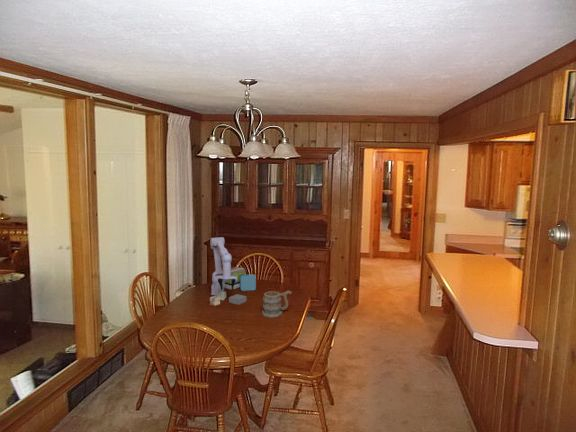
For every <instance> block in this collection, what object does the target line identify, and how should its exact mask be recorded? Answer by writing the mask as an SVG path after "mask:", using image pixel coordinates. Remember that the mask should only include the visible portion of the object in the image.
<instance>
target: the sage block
mask: <svg viewBox="0 0 576 432" xmlns="http://www.w3.org/2000/svg"><path fill="white" fill-rule="evenodd" d="M226 293H227V291H225V290H224V291H219V292H218V293H217V297H220V301H225V298H226V299H227V294H226Z"/></svg>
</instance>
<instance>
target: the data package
mask: <svg viewBox="0 0 576 432" xmlns="http://www.w3.org/2000/svg"><path fill="white" fill-rule="evenodd" d="M239 288H240V290H241V292H248V291H256V290H257V277H256V275H255V274H254V273H253V274H252V273H251V274H249V273H248V274H245V275H241V276H240V287H239Z"/></svg>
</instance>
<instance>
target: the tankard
mask: <svg viewBox="0 0 576 432" xmlns="http://www.w3.org/2000/svg"><path fill="white" fill-rule="evenodd" d="M292 293H293V292H292V291H290V290H287V291H284V292H279V291H275V290H274V291H272V290H271V291H266V292H264V293H263V297H262V301H263V304H262V307H263V310H262V311H261V314H262V315H263V317H267V318H278V317H280V316H281V315H282V314H283V311H284V310H287V309H288V306H289V300H288V297H287V295H292ZM282 297H283V301H284V306H282V304H281V301H282Z"/></svg>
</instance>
